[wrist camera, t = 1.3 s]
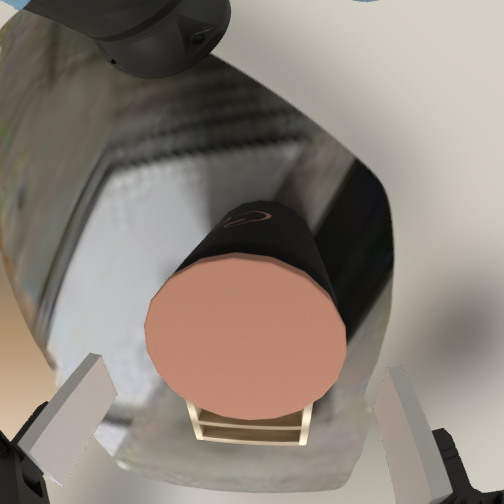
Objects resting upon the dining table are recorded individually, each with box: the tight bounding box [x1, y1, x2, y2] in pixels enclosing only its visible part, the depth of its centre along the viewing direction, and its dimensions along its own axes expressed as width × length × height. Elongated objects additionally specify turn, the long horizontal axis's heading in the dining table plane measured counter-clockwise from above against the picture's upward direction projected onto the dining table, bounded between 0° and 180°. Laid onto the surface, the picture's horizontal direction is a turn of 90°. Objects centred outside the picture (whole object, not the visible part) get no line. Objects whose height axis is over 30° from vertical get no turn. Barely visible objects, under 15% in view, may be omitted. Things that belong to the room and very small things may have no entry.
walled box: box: [185, 399, 313, 445], centre depth 34 cm, size 20×16×5 cm
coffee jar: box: [144, 200, 347, 420], centre depth 22 cm, size 11×11×18 cm
